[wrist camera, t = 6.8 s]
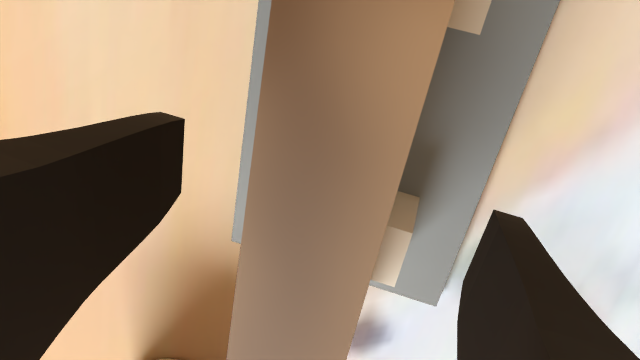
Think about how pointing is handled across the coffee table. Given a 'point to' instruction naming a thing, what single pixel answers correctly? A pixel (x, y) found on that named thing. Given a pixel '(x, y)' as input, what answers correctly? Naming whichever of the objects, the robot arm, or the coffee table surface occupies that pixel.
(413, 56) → the case
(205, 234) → the coffee table surface
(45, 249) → the robot arm
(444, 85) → the stand
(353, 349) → the coffee table surface
